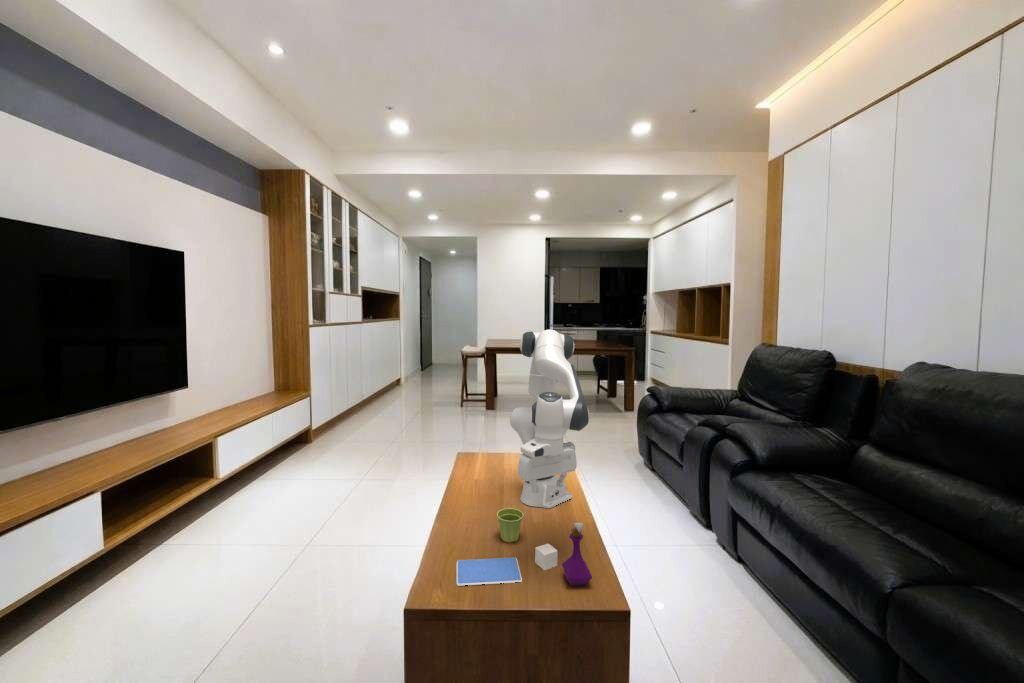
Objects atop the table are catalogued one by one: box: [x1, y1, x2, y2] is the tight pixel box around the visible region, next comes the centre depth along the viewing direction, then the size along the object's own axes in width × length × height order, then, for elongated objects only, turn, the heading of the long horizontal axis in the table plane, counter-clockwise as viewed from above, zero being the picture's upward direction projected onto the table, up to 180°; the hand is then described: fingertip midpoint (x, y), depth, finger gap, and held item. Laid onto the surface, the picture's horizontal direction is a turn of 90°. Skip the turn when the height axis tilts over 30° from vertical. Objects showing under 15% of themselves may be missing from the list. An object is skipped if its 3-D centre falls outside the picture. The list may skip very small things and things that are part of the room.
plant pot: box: [496, 507, 524, 543], centre depth 150 cm, size 9×9×9 cm
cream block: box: [534, 543, 559, 571], centre depth 135 cm, size 5×5×5 cm
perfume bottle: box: [561, 522, 593, 586], centre depth 126 cm, size 8×8×18 cm
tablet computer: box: [455, 557, 523, 587], centre depth 131 cm, size 19×13×1 cm, turn 97°
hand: (547, 489), depth 133 cm, fingers open, 8 cm apart
